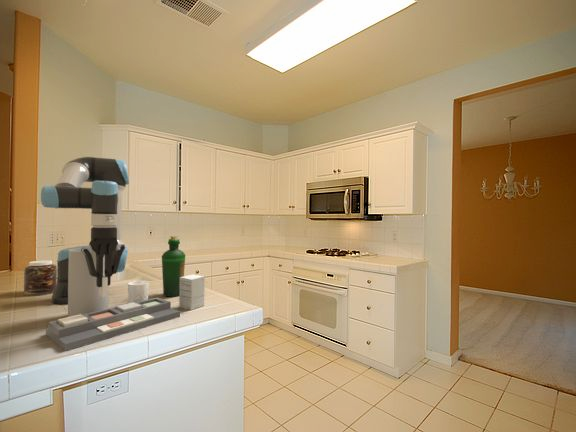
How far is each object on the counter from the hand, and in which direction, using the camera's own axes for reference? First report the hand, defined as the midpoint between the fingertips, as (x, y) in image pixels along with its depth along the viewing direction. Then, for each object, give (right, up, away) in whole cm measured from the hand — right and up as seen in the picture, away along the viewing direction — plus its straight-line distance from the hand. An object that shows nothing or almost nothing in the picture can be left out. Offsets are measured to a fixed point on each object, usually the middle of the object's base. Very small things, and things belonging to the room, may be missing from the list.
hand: (103, 295), depth 98 cm
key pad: (+4, -11, +2) cm, 12 cm away
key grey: (+5, -7, +7) cm, 11 cm away
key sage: (+10, -9, +13) cm, 19 cm away
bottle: (+8, -11, +40) cm, 42 cm away
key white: (-5, -7, -7) cm, 11 cm away
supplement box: (+22, -11, +23) cm, 34 cm away
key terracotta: (0, -9, 0) cm, 9 cm away
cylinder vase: (-12, -11, +10) cm, 19 cm away
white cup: (0, -11, +22) cm, 25 cm away
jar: (-56, -10, +40) cm, 70 cm away
